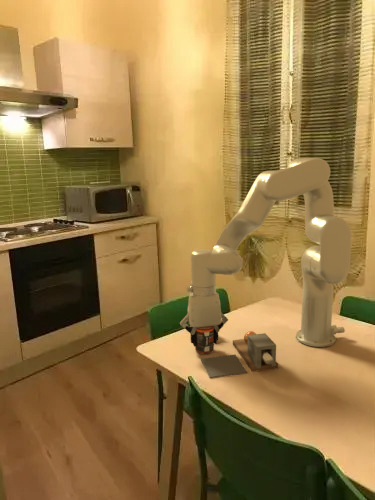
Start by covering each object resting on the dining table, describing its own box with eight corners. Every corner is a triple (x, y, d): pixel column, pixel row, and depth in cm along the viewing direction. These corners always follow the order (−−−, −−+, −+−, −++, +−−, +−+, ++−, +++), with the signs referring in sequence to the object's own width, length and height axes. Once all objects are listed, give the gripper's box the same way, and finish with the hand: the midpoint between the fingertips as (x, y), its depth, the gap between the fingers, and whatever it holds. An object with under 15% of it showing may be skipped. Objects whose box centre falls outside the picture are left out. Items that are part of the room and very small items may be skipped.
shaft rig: (232, 344, 130) (232, 321, 128) (255, 341, 131) (255, 319, 130) (253, 373, 112) (253, 347, 110) (279, 370, 113) (280, 344, 112)
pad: (235, 355, 123) (235, 354, 122) (247, 373, 112) (247, 372, 112) (200, 359, 120) (200, 358, 120) (209, 378, 110) (209, 376, 110)
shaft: (243, 345, 124) (243, 332, 123) (256, 343, 125) (257, 330, 124) (261, 368, 110) (262, 354, 109) (276, 367, 110) (277, 352, 110)
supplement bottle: (212, 355, 123) (212, 321, 120) (193, 354, 124) (192, 320, 122) (215, 347, 128) (214, 314, 126) (197, 345, 130) (196, 313, 127)
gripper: (178, 295, 117) (179, 352, 121) (234, 291, 120) (234, 345, 124) (174, 288, 124) (175, 341, 128) (226, 283, 127) (227, 335, 131)
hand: (204, 343), depth 126 cm, fingers closed on supplement bottle, 6 cm apart
